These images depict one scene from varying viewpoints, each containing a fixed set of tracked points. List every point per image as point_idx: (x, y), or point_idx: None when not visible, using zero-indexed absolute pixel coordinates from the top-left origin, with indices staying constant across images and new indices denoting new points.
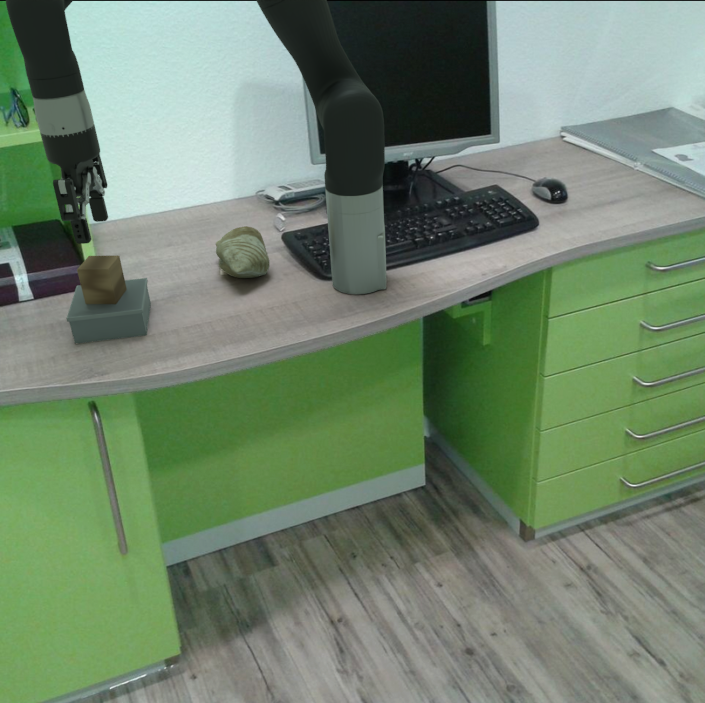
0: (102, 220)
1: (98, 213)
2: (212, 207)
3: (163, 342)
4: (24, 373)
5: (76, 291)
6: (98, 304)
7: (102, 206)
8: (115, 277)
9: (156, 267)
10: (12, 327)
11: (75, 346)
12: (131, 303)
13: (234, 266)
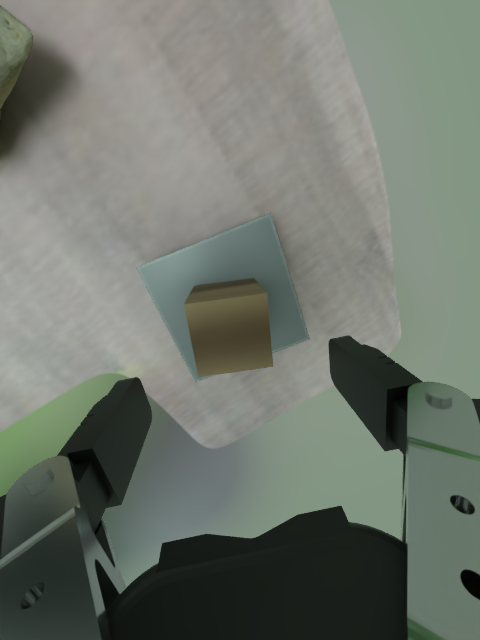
0: (143, 390)
1: (135, 418)
2: None
3: (280, 177)
4: None
5: None
6: None
7: (116, 420)
8: (234, 289)
9: (21, 315)
10: (257, 421)
11: None
12: (248, 248)
13: (12, 37)
